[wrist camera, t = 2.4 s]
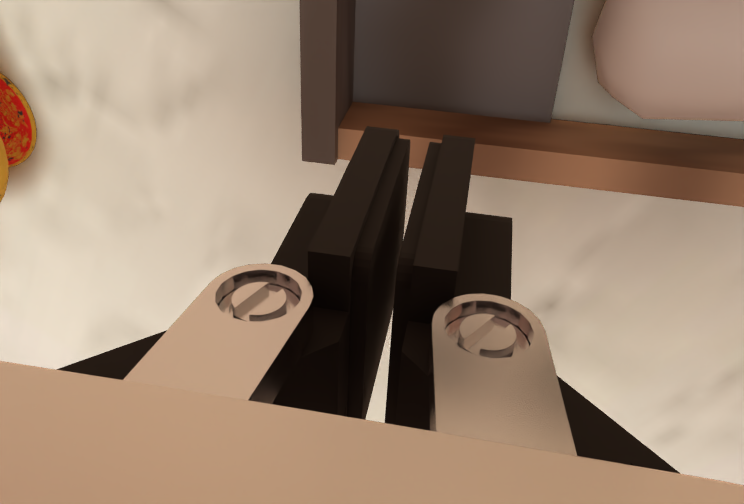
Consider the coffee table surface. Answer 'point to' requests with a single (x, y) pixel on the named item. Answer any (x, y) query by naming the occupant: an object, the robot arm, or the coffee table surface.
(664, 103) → the tube
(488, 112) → the trap channel
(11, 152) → the magic lamp
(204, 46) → the coffee table surface
